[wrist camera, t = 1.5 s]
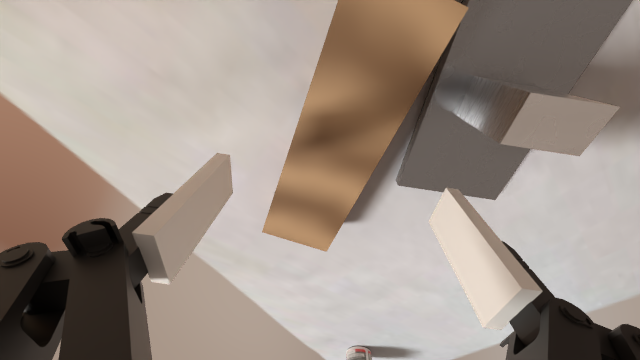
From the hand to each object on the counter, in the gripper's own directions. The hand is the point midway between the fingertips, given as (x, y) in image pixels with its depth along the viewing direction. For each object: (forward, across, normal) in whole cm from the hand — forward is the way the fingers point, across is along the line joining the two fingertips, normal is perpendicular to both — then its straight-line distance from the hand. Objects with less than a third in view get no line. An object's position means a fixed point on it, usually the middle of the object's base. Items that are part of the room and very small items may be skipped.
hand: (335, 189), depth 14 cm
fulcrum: (+9, +12, +6) cm, 16 cm away
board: (+9, 0, 0) cm, 9 cm away
